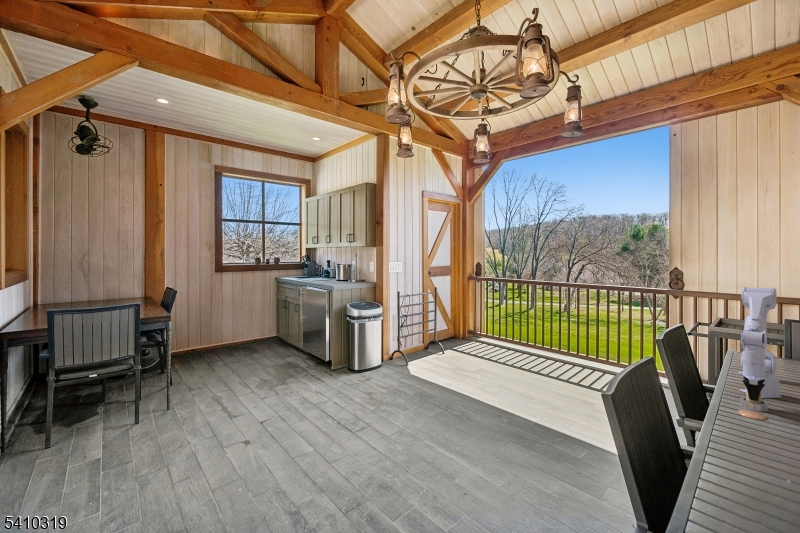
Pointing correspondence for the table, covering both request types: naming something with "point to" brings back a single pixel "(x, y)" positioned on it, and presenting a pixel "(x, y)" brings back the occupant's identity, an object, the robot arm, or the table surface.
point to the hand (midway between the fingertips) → (753, 398)
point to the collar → (754, 405)
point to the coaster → (752, 414)
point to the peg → (752, 400)
